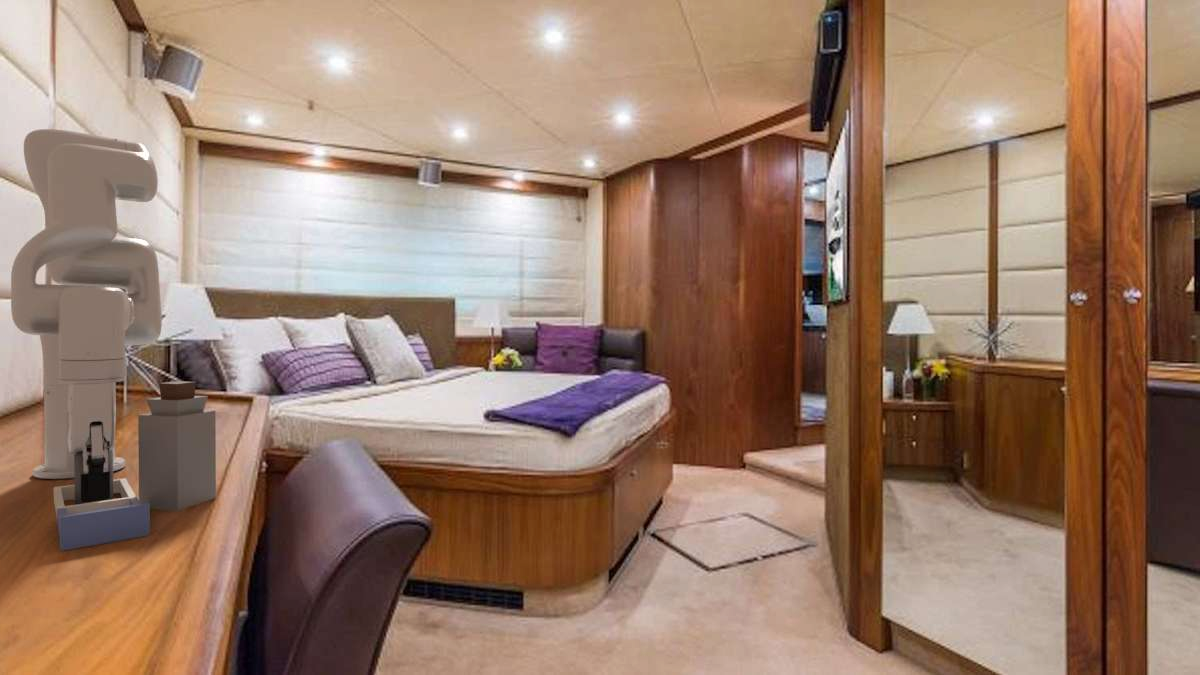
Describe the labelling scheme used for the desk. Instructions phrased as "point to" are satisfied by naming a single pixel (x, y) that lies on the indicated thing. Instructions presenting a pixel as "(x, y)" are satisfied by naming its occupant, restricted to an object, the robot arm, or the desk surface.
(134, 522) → the blue-fronted open tray
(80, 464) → the grey two-tone upright block
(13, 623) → the desk surface
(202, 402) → the perfume bottle
